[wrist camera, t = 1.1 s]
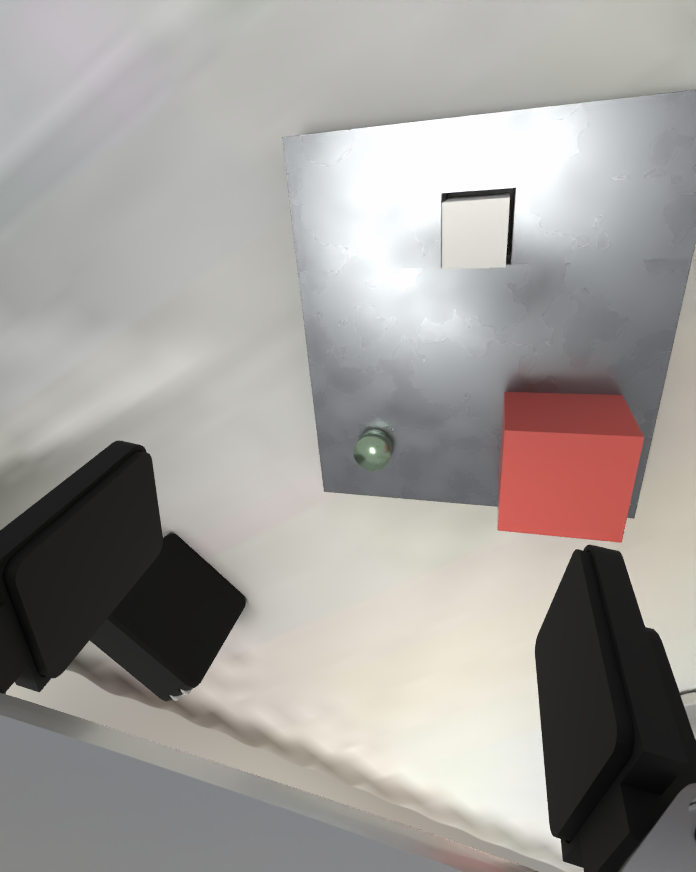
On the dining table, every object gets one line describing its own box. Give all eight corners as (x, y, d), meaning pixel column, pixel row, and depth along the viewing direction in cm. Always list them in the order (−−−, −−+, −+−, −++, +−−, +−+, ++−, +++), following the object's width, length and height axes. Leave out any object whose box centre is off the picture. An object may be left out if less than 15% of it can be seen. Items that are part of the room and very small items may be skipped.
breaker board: (705, 94, 23) (742, 81, 20) (624, 491, 33) (638, 530, 30) (301, 139, 29) (273, 135, 25) (335, 470, 39) (318, 501, 35)
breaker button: (508, 193, 26) (509, 197, 23) (505, 254, 27) (505, 267, 24) (449, 197, 27) (441, 202, 23) (449, 256, 28) (441, 269, 25)
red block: (622, 395, 28) (644, 436, 23) (604, 489, 30) (621, 542, 26) (504, 391, 29) (504, 430, 25) (498, 481, 32) (497, 530, 28)
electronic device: (171, 529, 47) (98, 610, 38) (249, 599, 48) (195, 692, 40) (150, 548, 49) (75, 629, 40) (225, 615, 51) (168, 706, 42)
